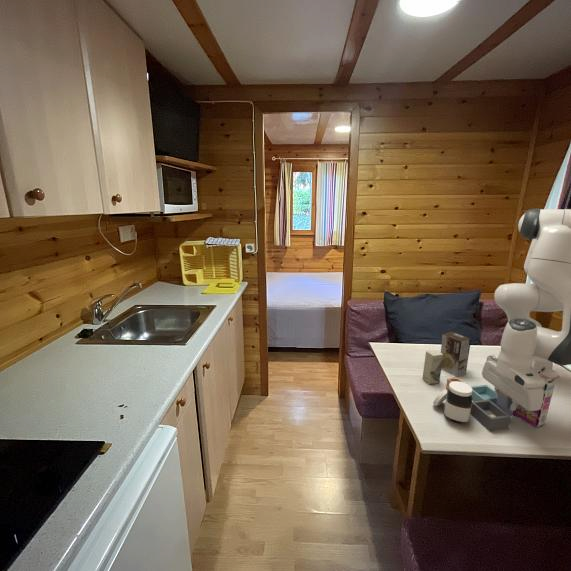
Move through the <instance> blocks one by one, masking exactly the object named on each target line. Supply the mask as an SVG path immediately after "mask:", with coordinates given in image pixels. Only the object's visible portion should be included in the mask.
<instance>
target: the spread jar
mask: <svg viewBox="0 0 571 571" xmlns="http://www.w3.org/2000/svg"><path fill="white" fill-rule="evenodd" d="M463 382H464V381H463ZM463 382H459V381H453V382H450V384H449V388H448V390H446V388H445V389H444V390H442V391H441V392H440V393H439V394H438V395H437V396H436V398H435V399H434V400H433V402H432V403H433V405H434V406H435V407H439V406H440V405H442V404H443V403H444V408H443V409H444V412H443V414H444V417H445V418H446V419H448V420H450V421H452V422H453V423H456V424H467V423H468V422H469V421H470V418H471V414H470V412H471V406H472V402H473V400H472V388H471V387H472V386H471V385H469V384H468V383H465V382H464V383H463Z"/></svg>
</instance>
